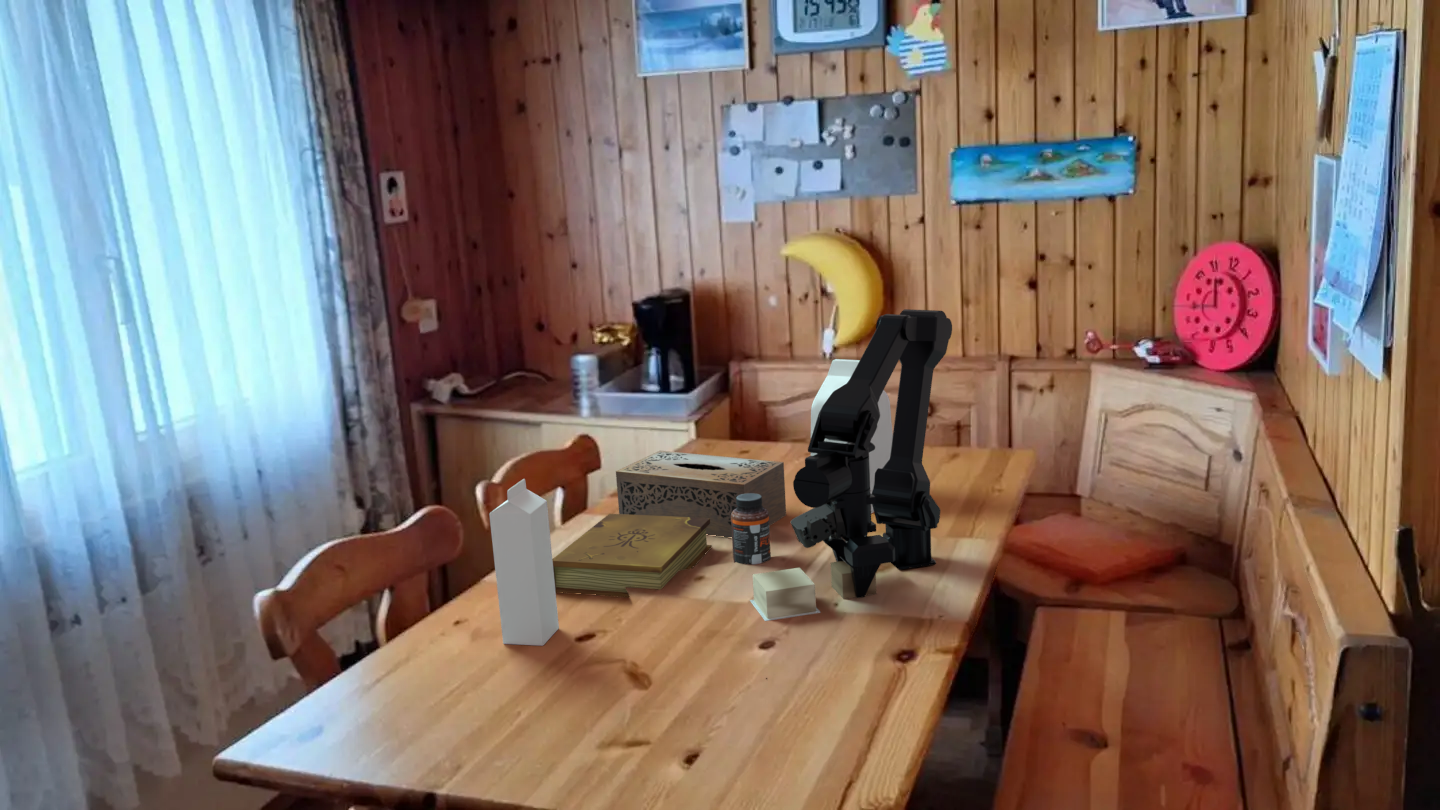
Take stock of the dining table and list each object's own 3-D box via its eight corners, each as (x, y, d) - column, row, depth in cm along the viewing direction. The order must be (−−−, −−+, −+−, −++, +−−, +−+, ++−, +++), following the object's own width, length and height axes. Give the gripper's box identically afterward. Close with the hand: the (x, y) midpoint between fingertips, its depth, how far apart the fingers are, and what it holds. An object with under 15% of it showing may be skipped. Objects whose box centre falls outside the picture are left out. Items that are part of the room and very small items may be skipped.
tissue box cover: (786, 516, 215) (783, 462, 212) (747, 542, 202) (744, 484, 200) (663, 502, 227) (659, 450, 225) (620, 525, 215) (615, 471, 213)
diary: (607, 545, 206) (605, 513, 205) (712, 551, 200) (710, 518, 199) (548, 595, 185) (545, 559, 183) (663, 602, 179) (661, 565, 178)
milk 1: (502, 644, 166) (485, 490, 162) (520, 626, 172) (503, 477, 167) (544, 646, 165) (527, 491, 160) (560, 628, 171) (544, 477, 166)
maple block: (800, 593, 174) (799, 567, 173) (816, 611, 168) (814, 584, 167) (754, 600, 173) (752, 574, 172) (767, 618, 166) (765, 591, 165)
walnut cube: (864, 590, 178) (863, 557, 177) (876, 602, 173) (875, 569, 172) (831, 595, 177) (830, 562, 176) (843, 607, 172) (842, 574, 171)
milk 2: (897, 495, 222) (893, 356, 216) (870, 514, 212) (865, 368, 207) (838, 488, 228) (833, 353, 222) (809, 506, 219) (803, 364, 213)
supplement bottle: (768, 572, 187) (764, 502, 185) (730, 571, 188) (726, 502, 186) (774, 559, 193) (770, 490, 190) (737, 558, 194) (733, 490, 192)
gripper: (776, 477, 178) (781, 578, 182) (816, 514, 160) (821, 624, 164) (848, 468, 181) (851, 567, 184) (895, 503, 163) (898, 612, 166)
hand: (853, 591), depth 175 cm, fingers closed on walnut cube, 5 cm apart
